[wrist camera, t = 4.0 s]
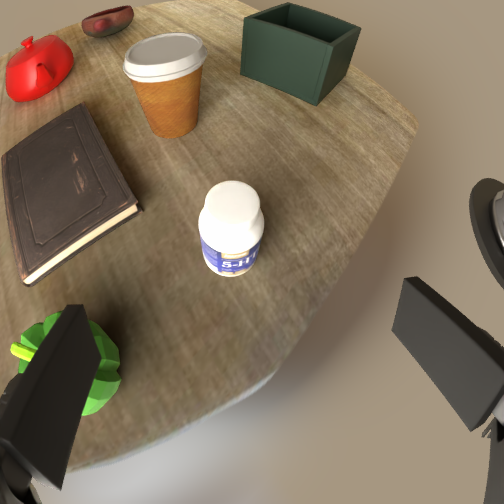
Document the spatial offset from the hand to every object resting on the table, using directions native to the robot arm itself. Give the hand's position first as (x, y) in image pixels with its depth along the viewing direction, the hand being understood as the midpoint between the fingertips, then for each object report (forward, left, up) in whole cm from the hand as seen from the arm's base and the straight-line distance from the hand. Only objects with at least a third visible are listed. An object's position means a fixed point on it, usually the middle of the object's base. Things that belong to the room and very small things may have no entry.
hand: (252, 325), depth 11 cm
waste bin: (+16, -41, -15) cm, 46 cm away
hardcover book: (+30, -3, -16) cm, 34 cm away
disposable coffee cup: (+23, -19, -16) cm, 34 cm away
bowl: (+61, -37, -16) cm, 73 cm away
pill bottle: (+6, -8, -16) cm, 18 cm away
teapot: (+58, -16, -16) cm, 62 cm away
